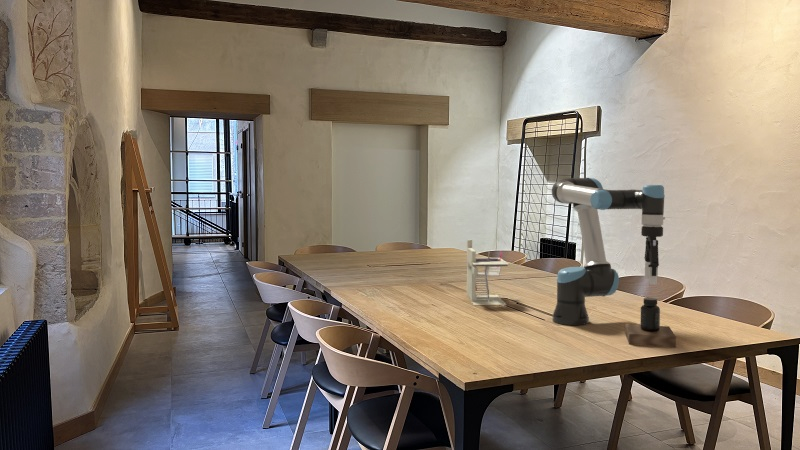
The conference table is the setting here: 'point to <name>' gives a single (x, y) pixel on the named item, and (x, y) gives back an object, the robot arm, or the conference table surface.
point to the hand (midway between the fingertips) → (650, 281)
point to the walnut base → (650, 336)
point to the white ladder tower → (473, 272)
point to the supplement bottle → (650, 315)
